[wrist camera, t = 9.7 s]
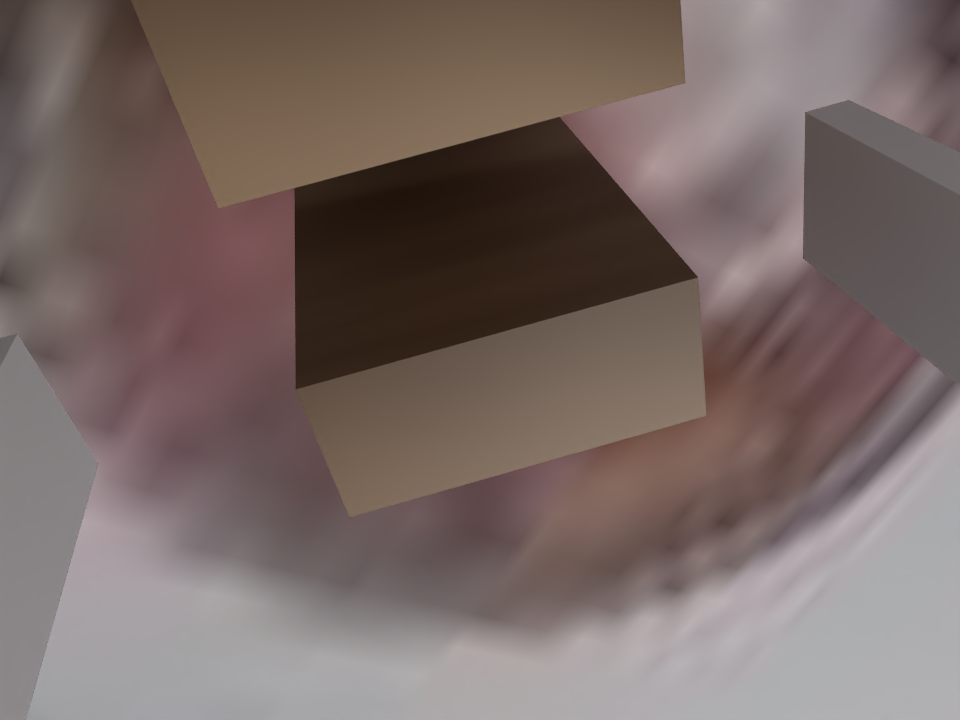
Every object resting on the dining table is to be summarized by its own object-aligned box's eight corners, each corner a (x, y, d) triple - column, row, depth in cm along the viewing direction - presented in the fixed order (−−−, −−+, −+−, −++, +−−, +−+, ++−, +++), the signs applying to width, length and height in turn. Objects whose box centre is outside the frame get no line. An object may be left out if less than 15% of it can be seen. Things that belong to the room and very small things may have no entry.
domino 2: (532, 160, 20) (706, 415, 11) (325, 216, 19) (349, 517, 11) (516, 67, 18) (698, 277, 10) (293, 125, 18) (295, 389, 10)
